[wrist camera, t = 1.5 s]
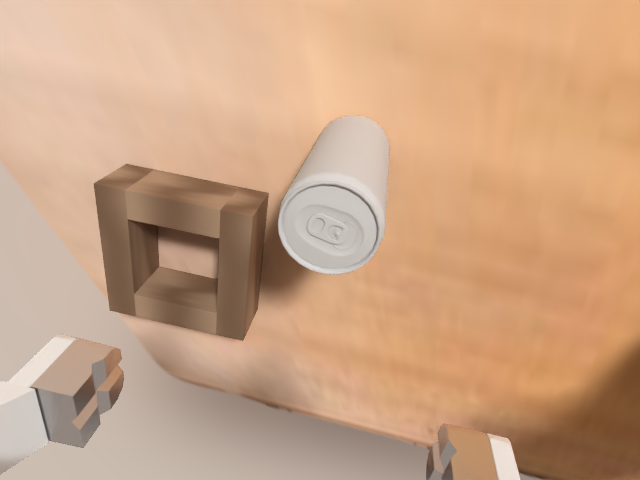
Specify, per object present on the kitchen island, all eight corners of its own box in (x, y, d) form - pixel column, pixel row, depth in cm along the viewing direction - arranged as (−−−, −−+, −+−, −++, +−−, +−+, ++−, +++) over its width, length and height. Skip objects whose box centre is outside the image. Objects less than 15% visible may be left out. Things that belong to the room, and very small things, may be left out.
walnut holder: (268, 193, 32) (252, 216, 28) (257, 309, 37) (243, 340, 34) (126, 164, 32) (93, 183, 29) (136, 282, 38) (109, 310, 34)
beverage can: (371, 193, 30) (356, 293, 20) (308, 165, 30) (260, 251, 20) (402, 130, 28) (405, 207, 18) (334, 99, 28) (296, 159, 17)
